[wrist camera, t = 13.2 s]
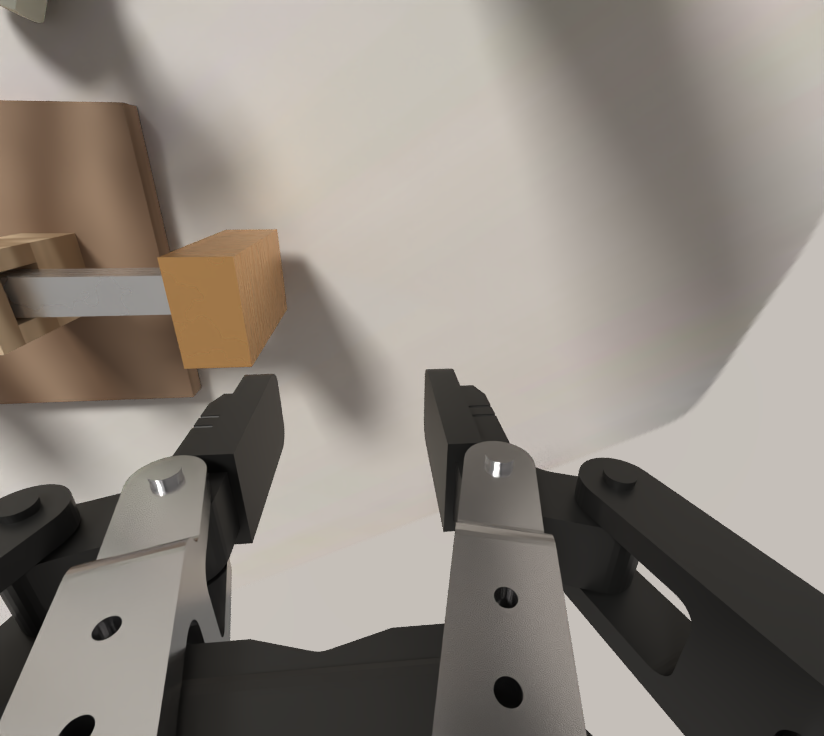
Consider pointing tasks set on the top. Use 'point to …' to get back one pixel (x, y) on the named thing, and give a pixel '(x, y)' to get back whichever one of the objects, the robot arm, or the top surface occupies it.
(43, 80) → the top surface
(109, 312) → the bar
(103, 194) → the socket base
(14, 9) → the valve
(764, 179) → the top surface
